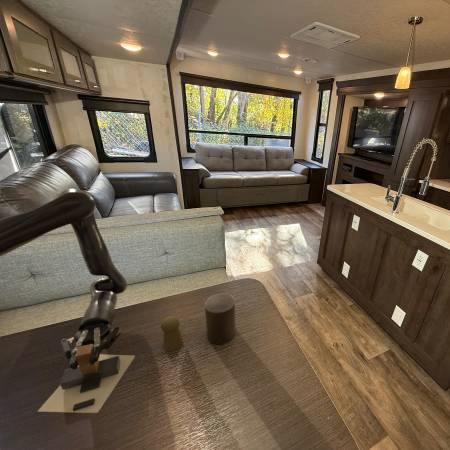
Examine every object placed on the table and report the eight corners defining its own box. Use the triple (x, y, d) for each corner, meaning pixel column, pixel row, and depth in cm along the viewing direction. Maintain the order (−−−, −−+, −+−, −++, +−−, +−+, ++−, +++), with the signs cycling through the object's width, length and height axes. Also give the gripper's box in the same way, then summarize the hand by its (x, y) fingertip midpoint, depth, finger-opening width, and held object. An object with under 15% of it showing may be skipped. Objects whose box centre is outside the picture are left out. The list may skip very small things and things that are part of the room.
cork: (161, 355, 77) (156, 329, 73) (165, 339, 82) (161, 314, 78) (182, 352, 79) (178, 326, 75) (185, 337, 84) (181, 312, 80)
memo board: (38, 414, 60) (36, 411, 59) (88, 356, 75) (87, 353, 74) (98, 415, 61) (97, 412, 60) (136, 358, 75) (135, 355, 75)
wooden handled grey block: (62, 390, 64) (50, 364, 60) (67, 376, 67) (56, 351, 63) (118, 373, 69) (110, 349, 65) (120, 361, 72) (113, 337, 68)
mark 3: (73, 411, 60) (72, 409, 60) (75, 406, 61) (74, 404, 61) (94, 404, 62) (93, 402, 62) (95, 400, 63) (94, 398, 63)
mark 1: (81, 389, 65) (80, 387, 65) (82, 384, 66) (82, 382, 66) (100, 383, 67) (99, 381, 66) (101, 379, 68) (100, 377, 67)
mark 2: (80, 393, 64) (79, 391, 64) (81, 389, 65) (80, 387, 65) (99, 387, 66) (98, 385, 65) (100, 383, 67) (99, 381, 66)
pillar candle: (220, 349, 81) (218, 314, 75) (200, 335, 85) (197, 301, 79) (241, 330, 89) (241, 297, 83) (222, 318, 93) (221, 286, 87)
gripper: (65, 314, 72) (40, 364, 58) (123, 303, 78) (113, 345, 64) (72, 333, 75) (50, 385, 61) (127, 321, 81) (119, 365, 67)
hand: (83, 364), depth 63 cm, fingers closed on wooden handled grey block, 3 cm apart
